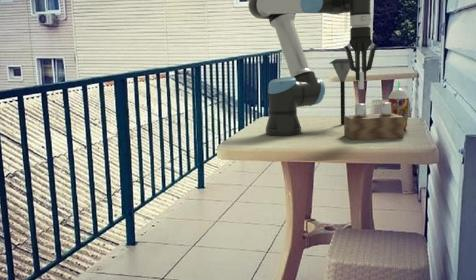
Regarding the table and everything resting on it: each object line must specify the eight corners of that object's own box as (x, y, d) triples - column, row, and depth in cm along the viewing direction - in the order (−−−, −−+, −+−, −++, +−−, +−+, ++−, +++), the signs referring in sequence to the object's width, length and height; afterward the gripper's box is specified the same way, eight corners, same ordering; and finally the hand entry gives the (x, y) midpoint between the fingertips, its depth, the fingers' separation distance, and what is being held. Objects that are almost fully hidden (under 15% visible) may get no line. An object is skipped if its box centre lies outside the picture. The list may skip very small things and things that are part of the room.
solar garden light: (357, 126, 238) (356, 58, 233) (329, 126, 239) (328, 59, 235) (355, 122, 249) (355, 58, 245) (329, 123, 251) (328, 59, 247)
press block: (352, 140, 202) (351, 119, 200) (344, 135, 214) (344, 115, 212) (403, 137, 203) (403, 116, 201) (393, 133, 214) (393, 113, 213)
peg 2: (382, 123, 205) (382, 103, 204) (379, 122, 209) (379, 102, 208) (392, 122, 206) (392, 103, 204) (389, 121, 209) (389, 102, 208)
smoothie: (409, 131, 218) (410, 82, 214) (388, 131, 219) (389, 82, 216) (407, 128, 226) (408, 81, 222) (387, 128, 227) (387, 81, 224)
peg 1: (356, 124, 205) (356, 104, 204) (354, 123, 209) (354, 103, 208) (367, 124, 205) (367, 104, 204) (364, 122, 209) (364, 103, 208)
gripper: (345, 27, 197) (346, 90, 201) (380, 25, 198) (380, 88, 201) (341, 28, 204) (342, 89, 208) (374, 26, 205) (374, 87, 209)
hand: (361, 88), depth 205 cm, fingers closed
